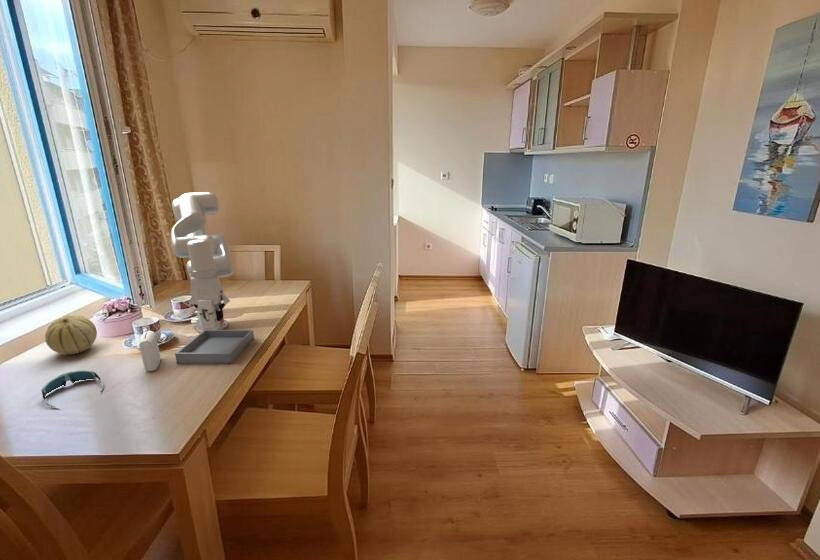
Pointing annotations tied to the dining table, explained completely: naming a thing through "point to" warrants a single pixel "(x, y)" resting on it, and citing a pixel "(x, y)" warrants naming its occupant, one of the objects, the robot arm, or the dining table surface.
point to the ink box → (208, 315)
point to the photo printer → (149, 351)
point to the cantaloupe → (70, 334)
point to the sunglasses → (68, 376)
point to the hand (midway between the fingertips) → (212, 319)
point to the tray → (215, 347)
